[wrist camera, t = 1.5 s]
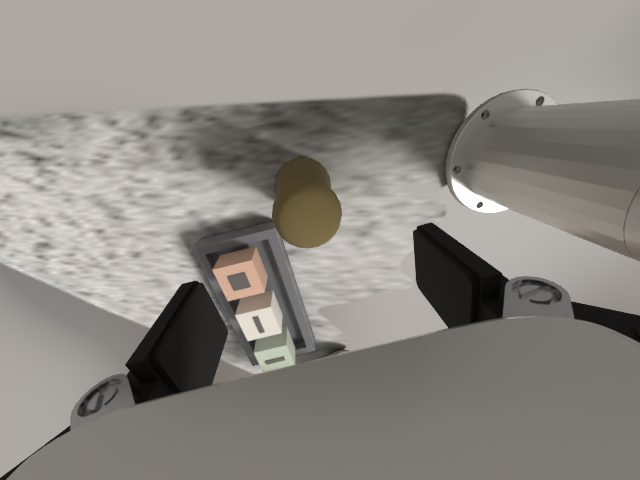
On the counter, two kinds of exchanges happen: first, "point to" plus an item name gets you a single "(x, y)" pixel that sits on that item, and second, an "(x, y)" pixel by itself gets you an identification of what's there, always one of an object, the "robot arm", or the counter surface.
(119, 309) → the counter surface
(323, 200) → the olive rounded piece
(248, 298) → the key cream
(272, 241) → the base
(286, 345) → the key sage
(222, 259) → the peach square block
